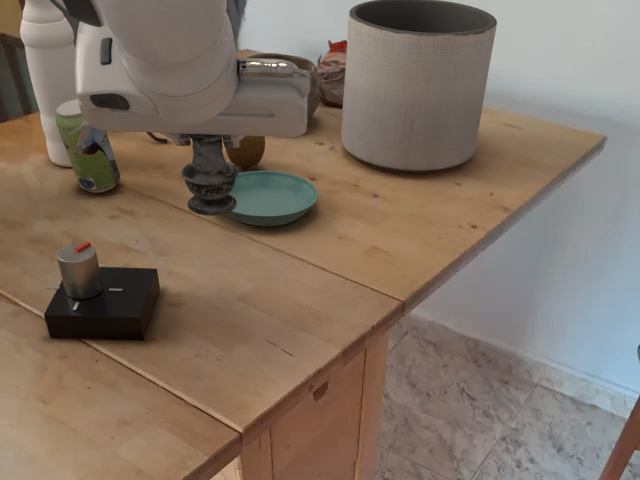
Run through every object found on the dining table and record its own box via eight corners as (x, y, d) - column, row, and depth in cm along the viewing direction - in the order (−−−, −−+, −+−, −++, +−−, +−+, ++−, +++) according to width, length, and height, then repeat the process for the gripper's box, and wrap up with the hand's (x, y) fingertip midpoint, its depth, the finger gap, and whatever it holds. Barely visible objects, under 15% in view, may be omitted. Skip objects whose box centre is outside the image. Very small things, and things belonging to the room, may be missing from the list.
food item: (353, 111, 128) (357, 52, 121) (311, 107, 129) (312, 48, 122) (363, 88, 137) (367, 33, 131) (324, 84, 138) (326, 29, 132)
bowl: (292, 145, 115) (292, 81, 108) (219, 125, 120) (215, 62, 113) (335, 121, 123) (337, 60, 117) (264, 103, 129) (263, 44, 122)
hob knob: (85, 303, 73) (75, 263, 70) (57, 292, 74) (46, 252, 71) (111, 286, 76) (103, 246, 72) (83, 276, 77) (74, 236, 74)
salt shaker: (249, 199, 74) (245, 80, 66) (221, 221, 70) (213, 98, 62) (203, 188, 76) (193, 70, 68) (173, 209, 72) (158, 87, 64)
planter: (411, 119, 126) (426, -8, 112) (501, 160, 113) (530, 22, 99) (314, 143, 116) (317, 6, 102) (400, 191, 103) (417, 42, 89)
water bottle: (60, 172, 104) (15, -22, 87) (43, 156, 108) (-3, -32, 91) (104, 162, 107) (69, -27, 90) (86, 147, 111) (50, -37, 94)
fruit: (236, 157, 110) (234, 105, 105) (272, 164, 109) (271, 111, 103) (218, 172, 106) (215, 118, 100) (255, 179, 104) (253, 125, 99)
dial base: (39, 337, 73) (32, 313, 71) (65, 287, 81) (59, 263, 78) (144, 341, 73) (139, 316, 71) (160, 290, 81) (156, 267, 79)
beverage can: (130, 185, 101) (116, 100, 93) (92, 203, 97) (74, 114, 88) (100, 174, 104) (84, 90, 95) (62, 191, 99) (42, 103, 91)
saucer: (336, 220, 95) (337, 202, 93) (240, 243, 90) (239, 224, 88) (287, 180, 104) (287, 163, 103) (197, 198, 99) (195, 180, 97)
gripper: (312, 28, 56) (311, 112, 69) (59, 19, 55) (108, 105, 69) (310, 104, 55) (309, 173, 69) (55, 95, 55) (106, 167, 69)
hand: (207, 139), depth 69 cm, fingers closed on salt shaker, 3 cm apart
